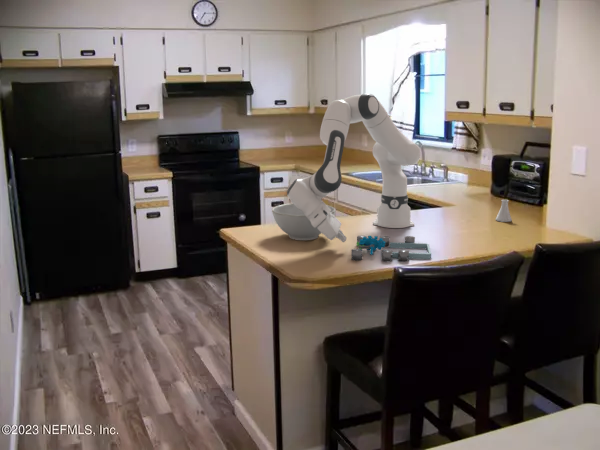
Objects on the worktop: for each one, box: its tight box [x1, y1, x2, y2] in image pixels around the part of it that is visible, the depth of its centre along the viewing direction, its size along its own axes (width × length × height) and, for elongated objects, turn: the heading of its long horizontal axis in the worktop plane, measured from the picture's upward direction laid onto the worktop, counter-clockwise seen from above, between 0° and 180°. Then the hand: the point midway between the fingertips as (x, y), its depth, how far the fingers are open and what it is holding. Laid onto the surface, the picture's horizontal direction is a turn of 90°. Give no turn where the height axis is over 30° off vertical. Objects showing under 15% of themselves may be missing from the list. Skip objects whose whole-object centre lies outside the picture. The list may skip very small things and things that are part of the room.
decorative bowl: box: [271, 203, 337, 241], centre depth 260 cm, size 27×27×12 cm
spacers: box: [350, 234, 416, 263], centre depth 237 cm, size 26×24×4 cm
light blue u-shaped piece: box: [389, 241, 432, 260], centre depth 236 cm, size 16×15×2 cm
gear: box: [355, 235, 386, 256], centre depth 235 cm, size 11×6×10 cm
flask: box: [494, 199, 513, 223], centre depth 292 cm, size 7×7×10 cm
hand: (345, 240), depth 238 cm, fingers closed
